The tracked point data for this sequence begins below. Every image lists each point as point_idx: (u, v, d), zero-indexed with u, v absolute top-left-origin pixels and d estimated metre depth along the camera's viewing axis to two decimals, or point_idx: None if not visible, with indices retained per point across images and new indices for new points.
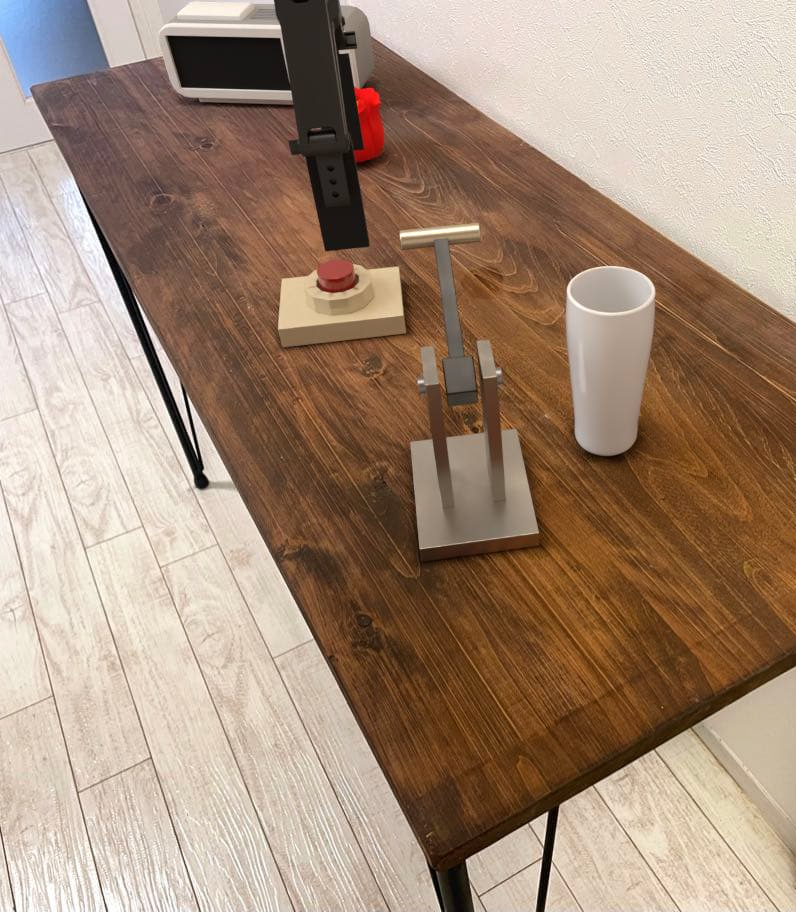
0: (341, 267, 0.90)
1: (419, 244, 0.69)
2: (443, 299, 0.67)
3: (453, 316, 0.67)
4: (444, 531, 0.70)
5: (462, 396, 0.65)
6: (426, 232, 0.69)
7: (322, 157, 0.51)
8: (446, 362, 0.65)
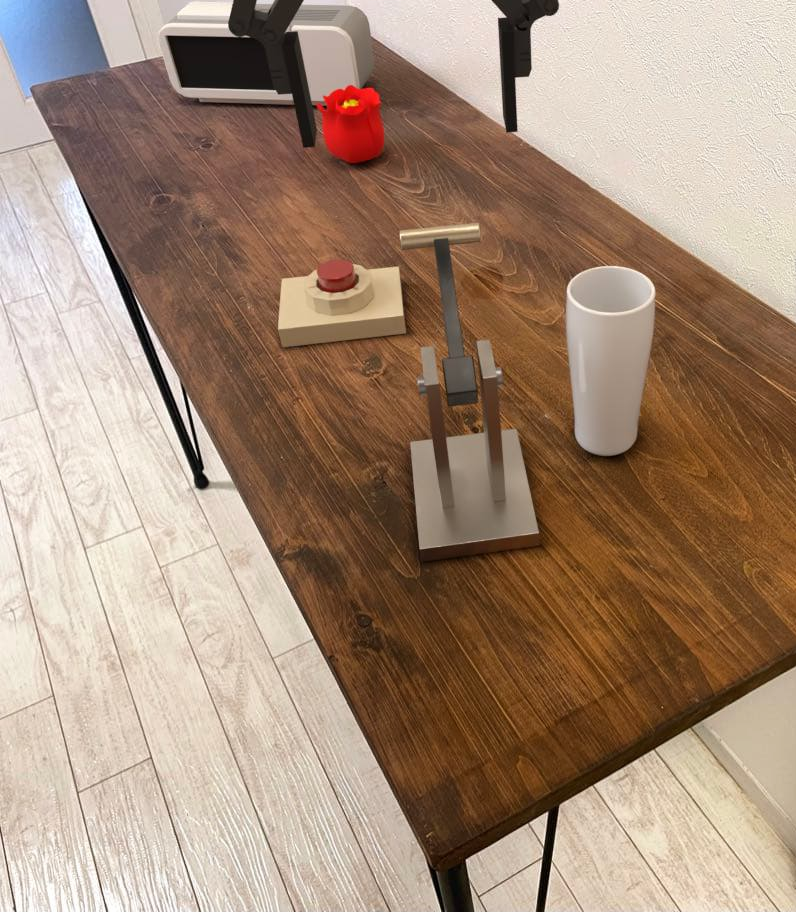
0: (341, 267, 0.90)
1: (419, 244, 0.69)
2: (443, 299, 0.67)
3: (453, 316, 0.67)
4: (444, 531, 0.70)
5: (462, 396, 0.65)
6: (426, 232, 0.69)
7: None
8: (446, 362, 0.65)
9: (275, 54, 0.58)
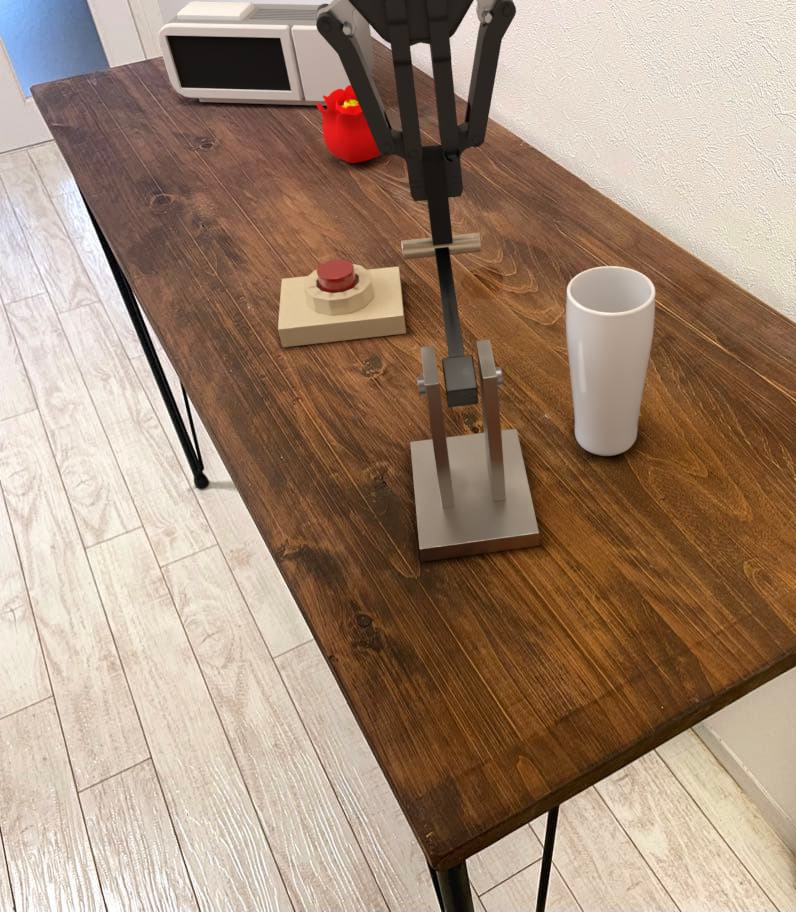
0: (341, 267, 0.90)
1: (421, 252, 0.70)
2: (443, 303, 0.68)
3: (453, 319, 0.68)
4: (444, 531, 0.70)
5: (462, 394, 0.65)
6: (427, 242, 0.70)
7: (460, 152, 0.66)
8: (446, 361, 0.65)
9: (415, 168, 0.65)
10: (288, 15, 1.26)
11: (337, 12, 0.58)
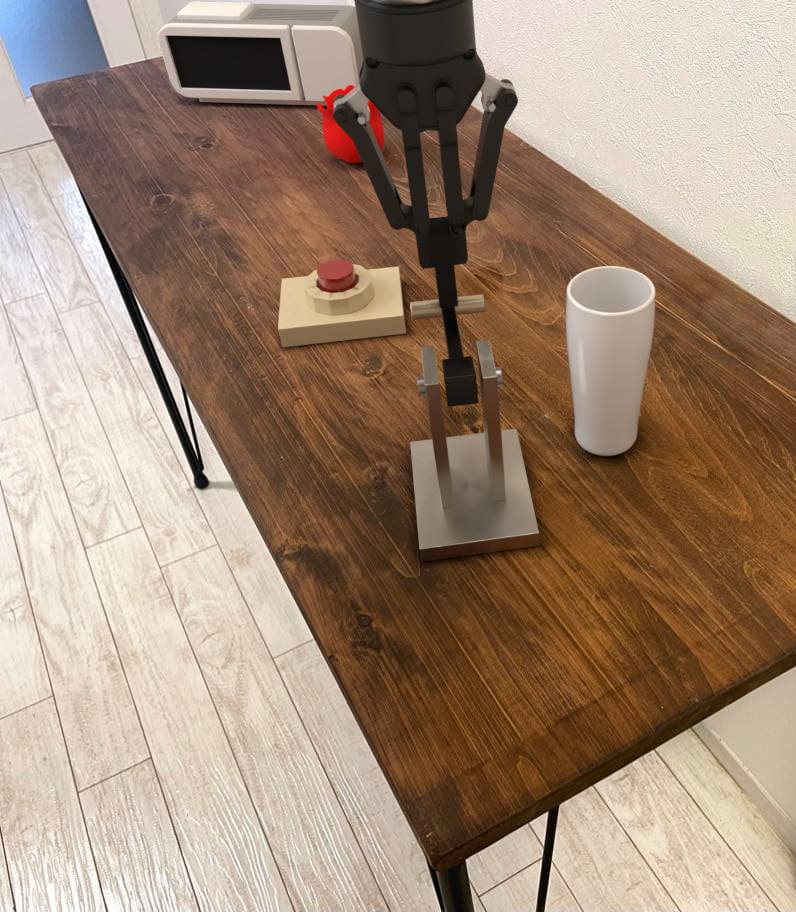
0: (341, 267, 0.90)
1: (428, 309, 0.75)
2: (446, 333, 0.71)
3: (455, 342, 0.70)
4: (444, 531, 0.70)
5: (461, 385, 0.65)
6: (434, 300, 0.75)
7: (465, 224, 0.70)
8: (446, 360, 0.66)
9: (423, 239, 0.70)
10: (288, 15, 1.26)
11: (352, 103, 0.63)
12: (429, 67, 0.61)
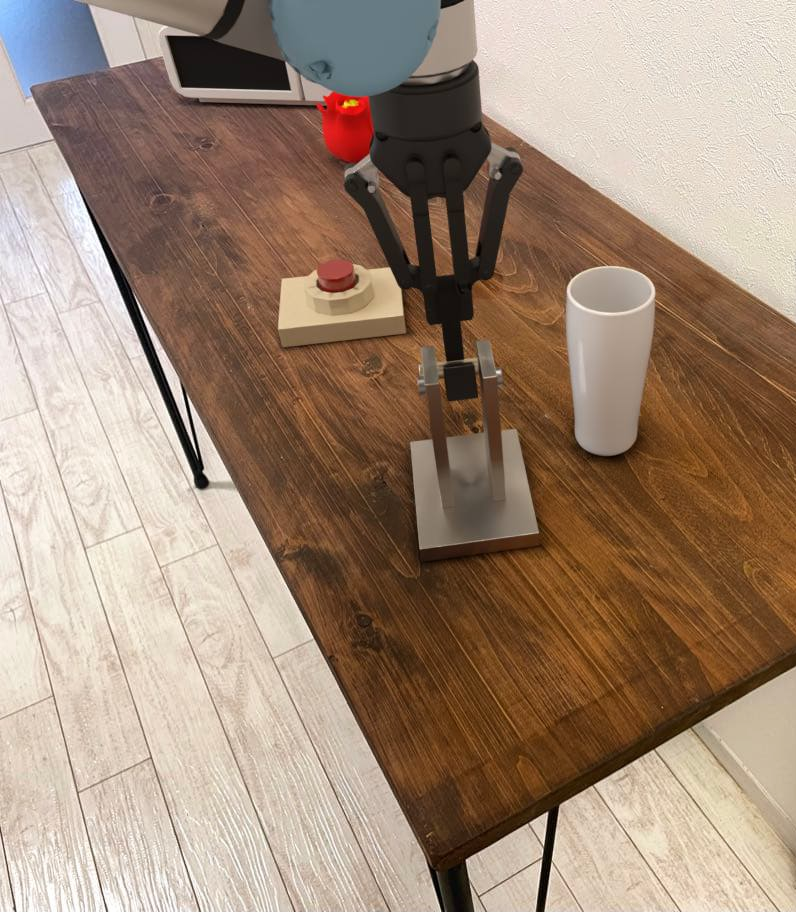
0: (341, 267, 0.90)
1: None
2: None
3: None
4: (444, 531, 0.70)
5: (460, 375, 0.64)
6: (442, 361, 0.77)
7: (471, 283, 0.72)
8: None
9: (430, 298, 0.72)
10: None
11: (363, 173, 0.65)
12: None
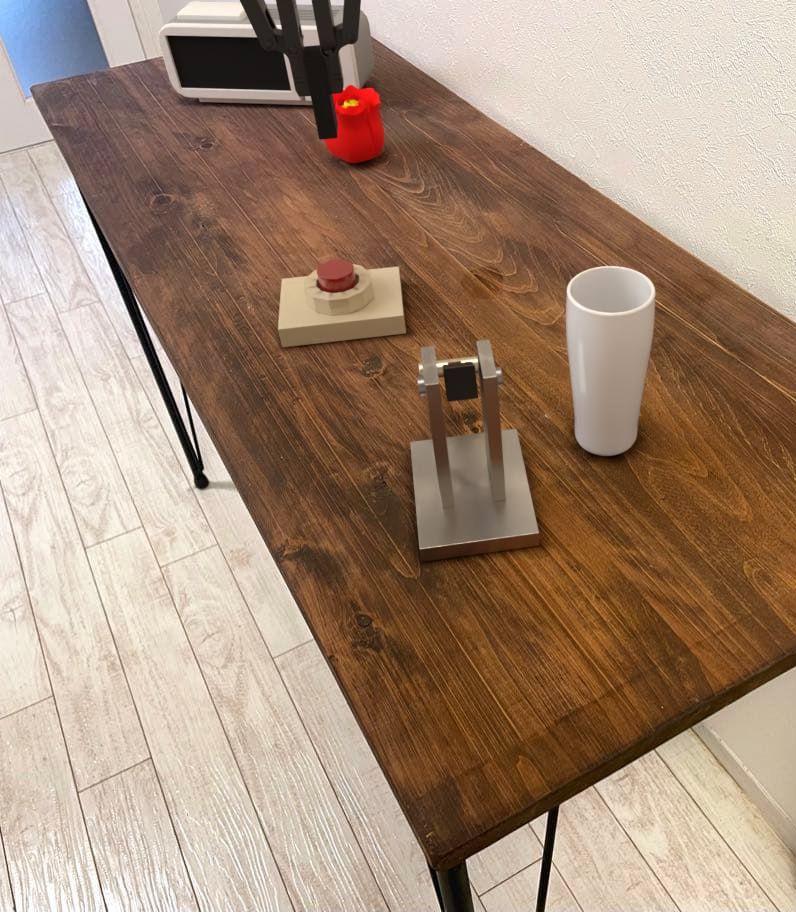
0: (341, 267, 0.90)
1: None
2: None
3: None
4: (444, 531, 0.70)
5: (460, 375, 0.64)
6: (441, 360, 0.77)
7: (338, 50, 0.72)
8: (446, 364, 0.67)
9: (297, 64, 0.72)
10: None
11: None
12: None
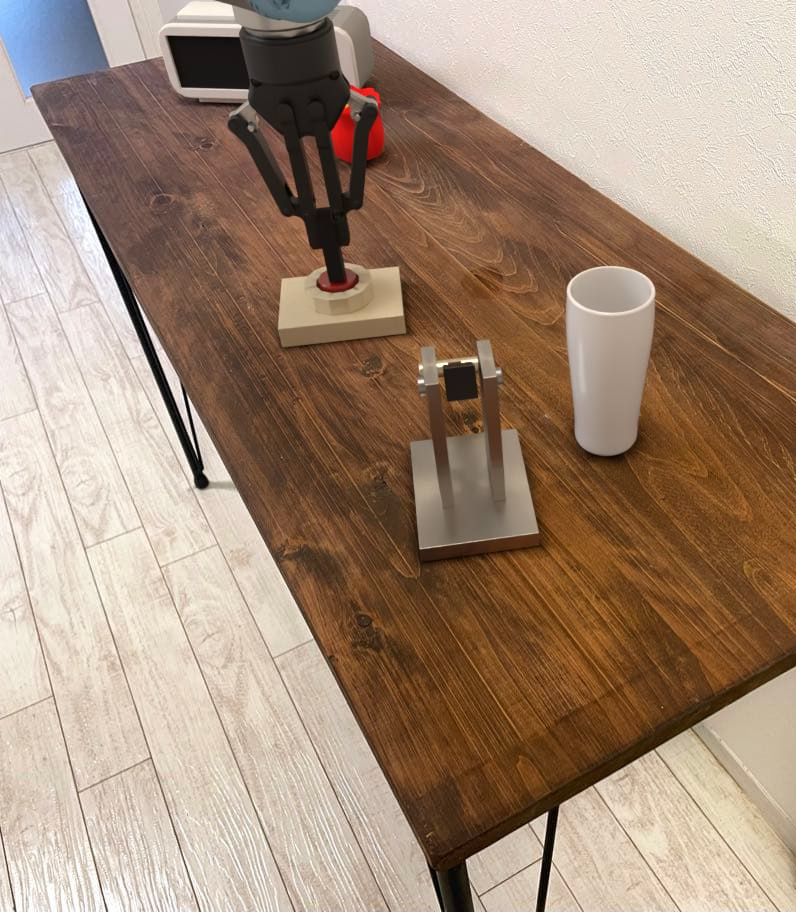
0: None
1: None
2: None
3: None
4: (444, 531, 0.70)
5: (460, 375, 0.64)
6: (441, 360, 0.77)
7: None
8: (446, 364, 0.67)
9: (311, 225, 0.85)
10: None
11: (243, 115, 0.78)
12: (302, 86, 0.76)
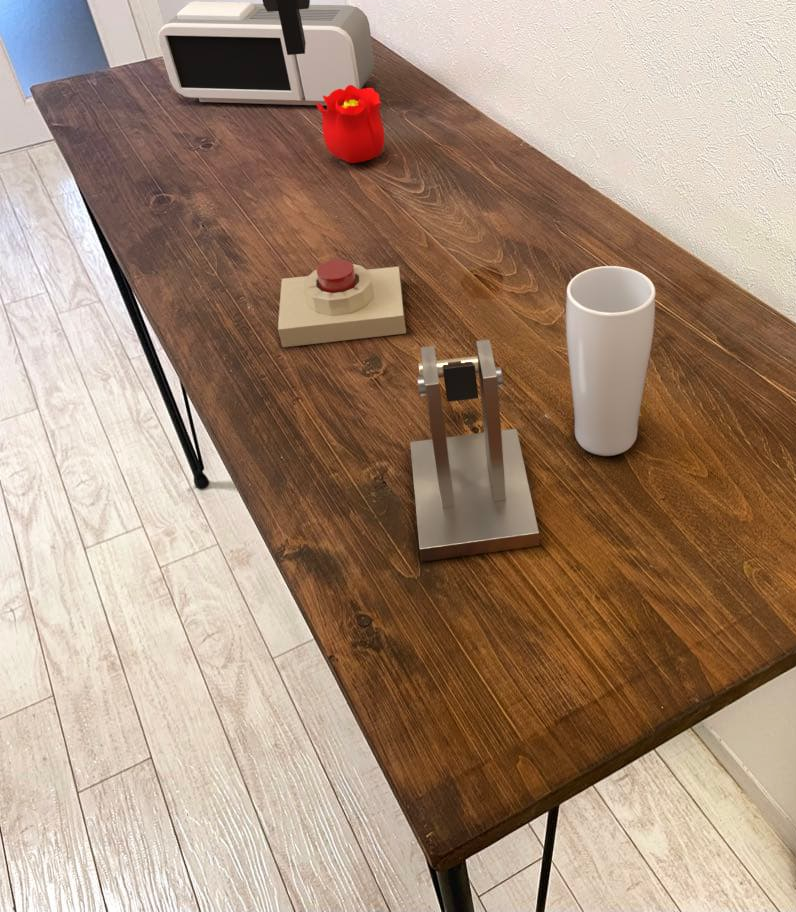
0: (341, 267, 0.90)
1: None
2: None
3: None
4: (444, 531, 0.70)
5: (460, 375, 0.64)
6: (441, 360, 0.77)
7: None
8: (446, 364, 0.67)
9: None
10: None
11: None
12: None
